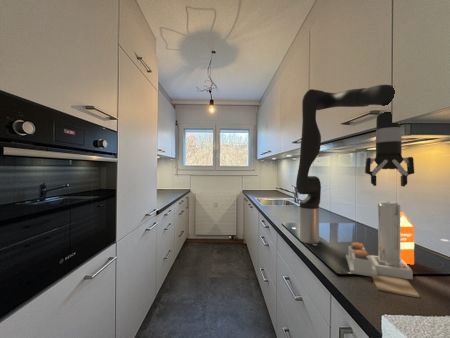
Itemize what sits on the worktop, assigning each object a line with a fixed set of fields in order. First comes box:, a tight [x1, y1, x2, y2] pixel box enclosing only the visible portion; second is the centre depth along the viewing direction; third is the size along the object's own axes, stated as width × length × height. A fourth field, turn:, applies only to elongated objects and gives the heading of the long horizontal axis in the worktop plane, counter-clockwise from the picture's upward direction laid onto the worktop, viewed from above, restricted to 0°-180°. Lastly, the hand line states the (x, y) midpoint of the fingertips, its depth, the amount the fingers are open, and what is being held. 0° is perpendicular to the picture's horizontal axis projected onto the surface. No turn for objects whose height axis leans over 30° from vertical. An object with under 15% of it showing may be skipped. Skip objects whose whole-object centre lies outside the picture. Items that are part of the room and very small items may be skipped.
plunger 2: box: [354, 250, 369, 260], centre depth 80 cm, size 4×4×5 cm
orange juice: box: [400, 211, 415, 265], centre depth 89 cm, size 8×9×20 cm
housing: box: [345, 245, 414, 281], centre depth 82 cm, size 15×18×5 cm
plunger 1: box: [350, 241, 364, 250], centre depth 88 cm, size 4×4×5 cm
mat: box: [370, 274, 420, 298], centre depth 70 cm, size 10×10×1 cm
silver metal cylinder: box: [377, 200, 401, 268], centre depth 80 cm, size 6×6×25 cm
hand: (388, 186), depth 80 cm, fingers open, 8 cm apart
